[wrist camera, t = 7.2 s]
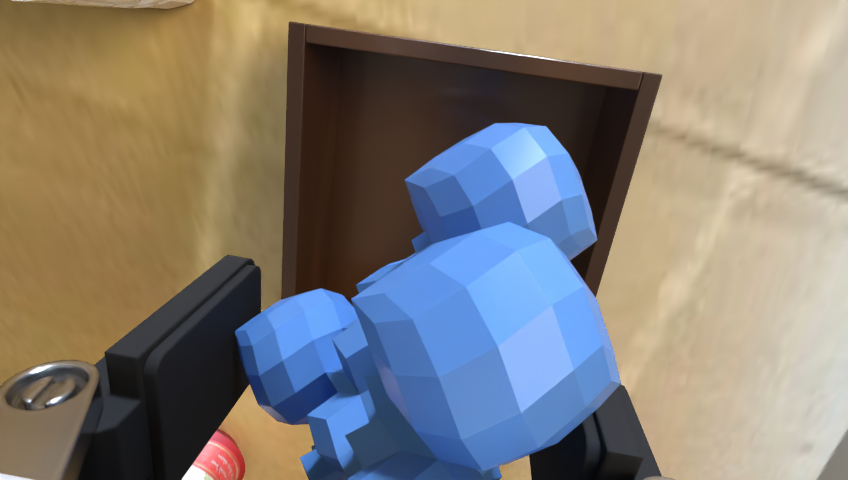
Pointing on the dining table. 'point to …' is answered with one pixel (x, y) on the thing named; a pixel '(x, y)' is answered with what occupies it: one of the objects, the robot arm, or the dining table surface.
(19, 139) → the dining table surface
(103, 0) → the white cup
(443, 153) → the grapes
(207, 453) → the liquor
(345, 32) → the brown wooden box
